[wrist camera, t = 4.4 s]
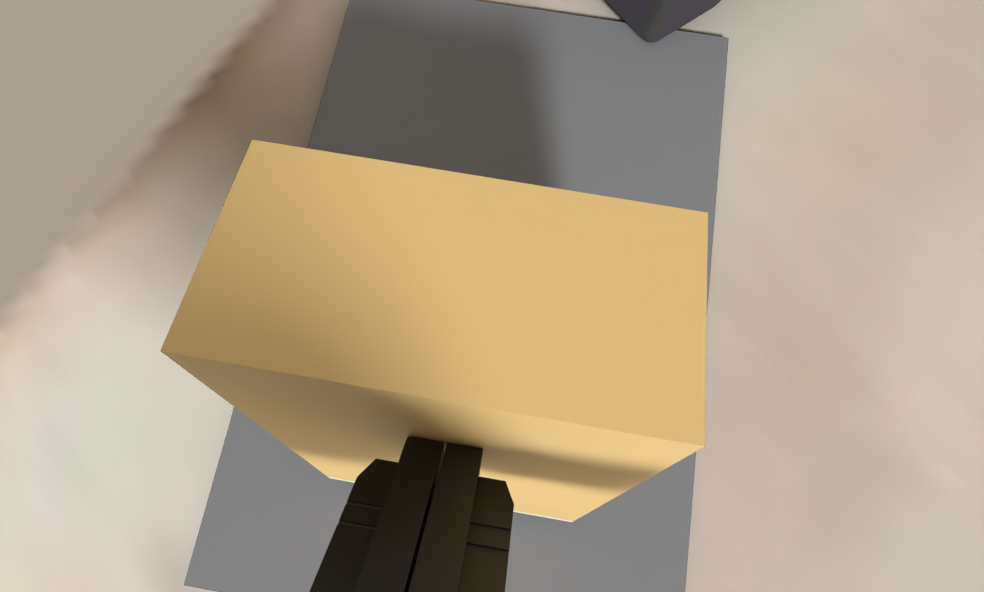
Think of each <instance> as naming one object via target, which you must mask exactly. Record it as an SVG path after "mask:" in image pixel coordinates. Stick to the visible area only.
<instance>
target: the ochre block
mask: <svg viewBox="0 0 984 592" xmlns="http://www.w3.org/2000/svg"><path fill="white" fill-rule="evenodd" d="M707 251H708V213H707V212H701V211H695V210H688V209H682V208H676V207H670V206H663V205H657V204H651V203H645V202H638V201H632V200H626V199H620V198H614V197H607V196H601V195H595V194H589V193H582V192H576V191H570V190H564V189H557V188H551V187H545V186H539V185H533V184H526V183H520V182H514V181H508V180H501V179H495V178H489V177H483V176H476V175H470V174H464V173H458V172H452V171H445V170H439V169H433V168H427V167H420V166H414V165H408V164H402V163H395V162H389V161H383V160H377V159H371V158H364V157H358V156H352V155H346V154H339V153H333V152H327V151H321V150H314V149H308V148H302V147H296V146H290V145H283V144H277V143H271V142H265V141H258V140H252V141H251V143H250V146H249V148H248V150H247V153H246V155H245V157H244V160H243V162H242V164H241V166H240V169H239V171H238V173H237V176H236V178H235V180H234V183H233V185H232V187H231V190H230V192H229V194H228V196H227V199H226V201H225V203H224V206H223V208H222V210H221V213H220V215H219V217H218V219H217V222H216V224H215V226H214V229H213V231H212V233H211V236H210V238H209V240H208V242H207V245H206V247H205V249H204V252H203V254H202V256H201V259H200V261H199V263H198V265H197V268H196V270H195V272H194V275H193V277H192V279H191V282H190V284H189V286H188V289H187V291H186V293H185V295H184V298H183V300H182V302H181V305H180V307H179V309H178V312H177V314H176V316H175V318H174V321H173V323H172V325H171V328H170V330H169V332H168V335H167V337H166V339H165V341H164V344H163V346H162V348H161V352H162V353H164V354H165V355H166V356H168V357H169V358H170V359H172V360H173V361H174V362H176V363H177V364H178V365H180V366H181V367H182V368H184V369H185V370H186V371H188V372H189V373H190V374H192V375H193V376H194V377H196V378H197V379H198V380H200V381H201V382H202V383H204V384H205V385H206V386H208V387H209V388H210V389H212V390H213V391H214V392H216V393H217V394H218V395H220V396H221V397H222V398H224V399H225V400H226V401H228V402H229V403H230V404H232V405H233V406H234V407H236V408H237V409H238V410H240V411H241V412H242V413H244V414H245V415H246V416H247V417H249V418H250V419H251V420H253V421H254V422H255V423H257V424H258V425H259V426H261V427H262V428H263V429H265V430H266V431H267V432H269V433H270V434H271V435H273V436H274V437H275V438H277V439H278V440H279V441H281V442H282V443H283V444H285V445H286V446H287V447H289V448H290V449H291V450H293V451H294V452H295V453H297V454H298V455H299V456H301V457H302V458H303V459H305V460H306V461H307V462H309V463H310V464H311V465H313V466H314V467H315V468H317V469H318V470H319V471H321V472H322V473H323V474H325V475H326V476H327V477H329V478H331V479H337V480H342V481H348V482H353V483H355V480H356V478H357V476H358V475H359V474H360V473H361V472H363V471H364V470H365V469H366V468H367V467H368V466H369V465H370V464H371V463H372V462H373V461H374V460H375V459H382V460H387V461H393V462H399V459H400V456H401V453H402V450H403V447H404V444H405V442H406V439H407V437H408V436H411V437H417V438H423V439H429V440H434V441H440V442H444V443H445V448H446V445H447V443H453V444H459V445H464V446H470V447H476V448H482V449H483V455H482V462H481V468H480V475H479V476H480V477H485V478H491V479H497V480H502V481H506V484H507V486H508V489H509V492H510V495H511V497H512V500H513V503H514V510H513V512H518V513H524V514H529V515H535V516H540V517H546V518H551V519H557V520H562V521H568V522H573V521H575V520H577V519H578V518H580V517H582V516H584V515H586V514H587V513H589V512H591V511H593V510H594V509H596V508H598V507H600V506H601V505H603V504H605V503H607V502H608V501H610V500H612V499H614V498H615V497H617V496H619V495H621V494H622V493H624V492H626V491H628V490H629V489H631V488H633V487H635V486H636V485H638V484H640V483H642V482H643V481H645V480H647V479H649V478H650V477H652V476H654V475H656V474H657V473H659V472H661V471H663V470H664V469H666V468H668V467H670V466H671V465H673V464H675V463H677V462H678V461H680V460H682V459H684V458H685V457H687V456H689V455H691V454H692V453H694V452H696V451H698V450H699V449H701V448H703V447H705V390H706V321H707ZM445 448H444V452H445Z"/></svg>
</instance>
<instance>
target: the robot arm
mask: <svg viewBox="0 0 984 592" xmlns="http://www.w3.org/2000/svg"><path fill="white" fill-rule="evenodd" d="M444 448H445V443H444V442H440V441H434V440H429V439H423V438H417V437H411V436H408V437H407V439H406V442H405V444H404V447H403V450H402V453H401V456H400V459H399V462H393V461H387V460H382V459H375V460H374V461H373V462H372V463H371V464H370V465H369V466H368V467H367V468H366V469H365V470H364V471H363V472H361V473H360V474H359V475H358V476H357V478H356V480H355V483H354V485H353V488H352V490H351V492H350V495H349V497H348V500H347V504H346V505H345V507H344V509H343V512H342V514H341V517H340V519H339V523H338V525H337V526H336V529H335V531H334V533H333V536H332V538H331V541H330V543H329V546H328V548H327V550H326V553H325V555H324V558H323V560H322V562H321V565H320V567H319V570H318V572H317V574H316V577H315V579H314V582H313V584H312V587H311V589H310V591H309V592H505V586H506V576H507V567H508V557H509V548H510V538H511V529H512V519H513V510H514V503H513V500H512V497H511V495H510V492H509V489H508V486H507V484H506V481H502V480H497V479H491V478H485V477H480V476H479V475H480V468H481V462H482V455H483V449H482V448H476V447H470V446H464V445H459V444H453V443H447V445H446V448H445V452H444Z"/></svg>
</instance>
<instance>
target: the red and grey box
mask: <svg viewBox="0 0 984 592" xmlns="http://www.w3.org/2000/svg"><path fill="white" fill-rule="evenodd" d="M605 1H606V2H607V3H608V4H609V5H610V6H611V7H612V8H613V9H614V10H615V11H616V12H617V13H618V15H619V16H620V17H621V18H622V19H623V20H624V21H625V22H626V23H627V24H628V25H629V26H630V27H631V28H632V29H633V30H634V31H635V32H636V33H637V34H638V35H639V36H640V37H641V38H642V39H643V40H644V41H646V42H649V43H654V42H657V41H659V40H660V39H662V38H664V37H665V36H667V35H669V34H670V33H672V32H674V31H675V30H677V29H679V28H680V27H682V26H683V25H685V24H687V23H688V22H690V21H692V20H693V19H695V18H697V17H698V16H700V15H701V14H703V13H705V12H706V11H708V10H710V9H711V8H713V7H714V6H715V5H717V4H718V3H719V2H720V1H721V0H605Z"/></svg>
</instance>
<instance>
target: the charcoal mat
mask: <svg viewBox="0 0 984 592" xmlns="http://www.w3.org/2000/svg"><path fill="white" fill-rule="evenodd" d="M728 39H729V38H726V37H719V36H712V35H706V34H699V33H692V32H686V31H679V30H675V31H674V32H672V33H670V34H669V35H667V36H665V37H664V38H662V39H660V40H659V41H657V42H654V43H649V42H646V41H644V40H643V39H642V38H641V37H640V36H639V35H638V34H637V33H636V32H635V31H634V30H633V29H632V28H631V27H630V26H629V25H628V24H627V23H625V22H619V21H612V20H605V19H598V18H592V17H585V16H578V15H572V14H565V13H558V12H551V11H545V10H538V9H531V8H525V7H518V6H511V5H505V4H498V3H491V2H484V1H478V0H350V2H349V5H348V9H347V12H346V16H345V19H344V23H343V26H342V30H341V33H340V37H339V40H338V44H337V47H336V51H335V54H334V58H333V61H332V65H331V68H330V72H329V76H328V79H327V83H326V86H325V90H324V93H323V97H322V100H321V104H320V107H319V111H318V114H317V118H316V121H315V125H314V128H313V132H312V135H311V139H310V142H309V146H308V149H314V150H321V151H327V152H333V153H339V154H346V155H352V156H358V157H364V158H371V159H377V160H383V161H389V162H395V163H402V164H408V165H414V166H420V167H427V168H433V169H439V170H445V171H452V172H458V173H464V174H470V175H476V176H483V177H489V178H495V179H501V180H508V181H514V182H520V183H526V184H533V185H539V186H545V187H551V188H557V189H564V190H570V191H576V192H582V193H589V194H595V195H601V196H607V197H614V198H620V199H626V200H632V201H638V202H645V203H651V204H657V205H663V206H670V207H676V208H682V209H688V210H695V211H701V212H707V213H708V251H707V306H708V293H709V281H710V268H711V255H712V242H713V230H714V217H715V204H716V192H717V179H718V166H719V154H720V141H721V128H722V115H723V103H724V90H725V77H726V65H727V52H728ZM695 458H696V452H694V453H692V454H691V455H689V456H687V457H685V458H684V459H682V460H680V461H678V462H677V463H675V464H673V465H671V466H670V467H668V468H666V469H664V470H663V471H661V472H659V473H657V474H656V475H654V476H652V477H650V478H649V479H647V480H645V481H643V482H642V483H640V484H638V485H636V486H635V487H633V488H631V489H629V490H628V491H626V492H624V493H622V494H621V495H619V496H617V497H615V498H614V499H612V500H610V501H608V502H607V503H605V504H603V505H601V506H600V507H598V508H596V509H594V510H593V511H591V512H589V513H587V514H586V515H584V516H582V517H580V518H578V519H577V520H575V521H573V522H568V521H562V520H557V519H551V518H546V517H540V516H535V515H529V514H524V513H518V512H513V519H512V529H511V538H510V548H509V557H508V567H507V576H506V586H505V592H685V585H686V573H687V560H688V547H689V535H690V522H691V509H692V497H693V484H694V471H695ZM353 485H354V483H353V482H348V481H342V480H337V479H331V478H329V477H327V476H326V475H325V474H323V473H322V472H321V471H319V470H318V469H317V468H315V467H314V466H313V465H311V464H310V463H309V462H307V461H306V460H305V459H303V458H302V457H301V456H299V455H298V454H297V453H295V452H294V451H293V450H291V449H290V448H289V447H287V446H286V445H285V444H283V443H282V442H281V441H279V440H278V439H277V438H275V437H274V436H273V435H271V434H270V433H269V432H267V431H266V430H265V429H263V428H262V427H261V426H259V425H258V424H257V423H255V422H254V421H253V420H251V419H250V418H249V417H247V416H246V415H245V414H244V413H242V412H241V411H240V410H238V409H237V408H236V407H234V410H233V414H232V417H231V421H230V424H229V428H228V431H227V435H226V438H225V442H224V445H223V449H222V452H221V456H220V459H219V463H218V467H217V470H216V474H215V477H214V481H213V484H212V488H211V491H210V495H209V498H208V502H207V505H206V509H205V512H204V516H203V519H202V523H201V526H200V530H199V533H198V537H197V540H196V544H195V548H194V551H193V555H192V558H191V562H190V565H189V569H188V572H187V576H186V579H185V583H184V585H185V586H191V587H196V588H201V589H206V590H212V591H217V592H309V591H310V589H311V587H312V584H313V582H314V579H315V577H316V574H317V572H318V570H319V567H320V565H321V562H322V560H323V558H324V555H325V553H326V550H327V548H328V546H329V543H330V541H331V538H332V536H333V533H334V531H335V529H336V526H337V525H338V523H339V519H340V517H341V514H342V512H343V509H344V507H345V505H346V504H347V500H348V497H349V495H350V492H351V490H352V488H353Z"/></svg>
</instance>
